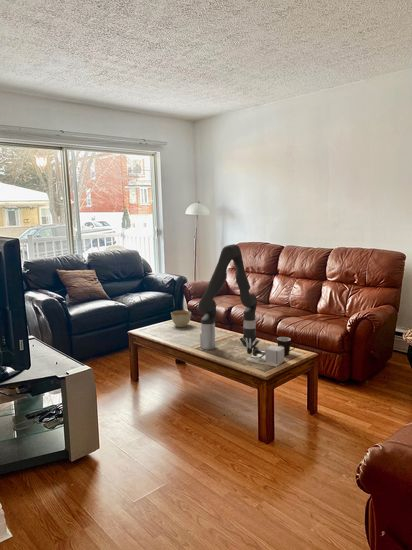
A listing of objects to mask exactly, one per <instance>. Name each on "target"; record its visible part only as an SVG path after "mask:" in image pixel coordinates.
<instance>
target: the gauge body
mask: <svg viewBox="0 0 412 550" xmlns="http://www.w3.org/2000/svg"><path fill="white" fill-rule="evenodd" d="M261 356H262V354H258V355H257V356H253V354H252V355H251V354H250V356H248V357H247V358H246V359H245V361H246V362H251V363H254V364H255V363H256V364H261V365H265V366H271V367H278V366H280V365H281V364H282V363H283V362H284V361H285V356H284V347H279V346H278V345H273V344H270V345H269V346H268V347H266V348H265V355H264V356H263V357H262V358H260V357H261Z"/></svg>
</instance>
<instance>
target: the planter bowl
mask: <svg viewBox="0 0 412 550" xmlns="http://www.w3.org/2000/svg"><path fill="white" fill-rule="evenodd" d="M170 316H171V319H172V322H173V324H174V325H175V327H176V328H186V327H188V324H189V323H190V321H191V318H192V312H191V311H190V310H174V311H172V312H170Z"/></svg>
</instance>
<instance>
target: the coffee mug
mask: <svg viewBox="0 0 412 550" xmlns="http://www.w3.org/2000/svg"><path fill="white" fill-rule="evenodd" d="M276 339H277V340H276V341H277V346H279V347H284V357H288V356H290V352H291V351H293V350H294V349H296V347H297V345H296V344H295V343H294V342H291V341H292V339H291V338H290V337H286V336H279V337H277V338H276ZM291 344H292V345H294V347H293V348H292V349H291Z"/></svg>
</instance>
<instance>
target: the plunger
mask: <svg viewBox="0 0 412 550" xmlns="http://www.w3.org/2000/svg"><path fill="white" fill-rule="evenodd" d="M258 354H261V355H262V356H261V357H260V358H262V357H263V356H264V355H265V351H264V350H259V347H258V346H255V347H254V348H252V355H253V356H257V355H258Z"/></svg>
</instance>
